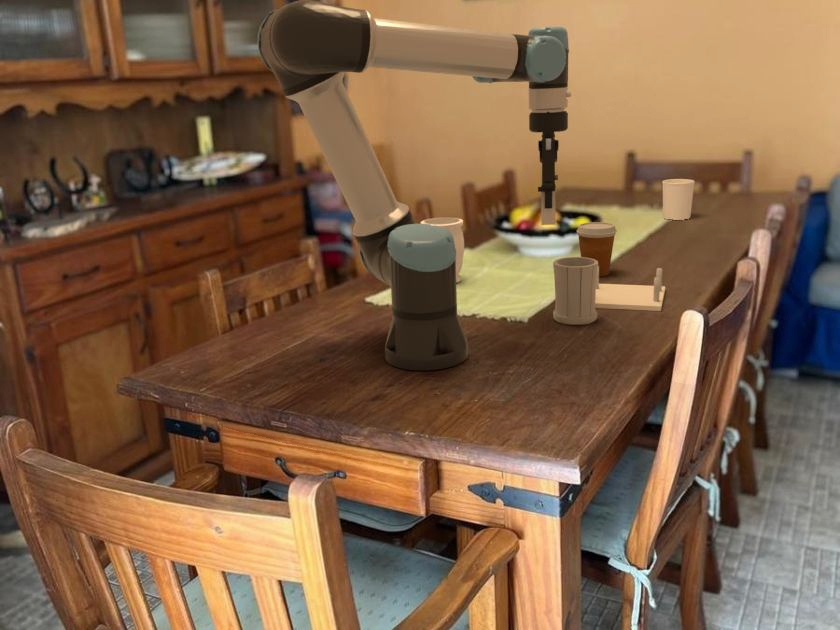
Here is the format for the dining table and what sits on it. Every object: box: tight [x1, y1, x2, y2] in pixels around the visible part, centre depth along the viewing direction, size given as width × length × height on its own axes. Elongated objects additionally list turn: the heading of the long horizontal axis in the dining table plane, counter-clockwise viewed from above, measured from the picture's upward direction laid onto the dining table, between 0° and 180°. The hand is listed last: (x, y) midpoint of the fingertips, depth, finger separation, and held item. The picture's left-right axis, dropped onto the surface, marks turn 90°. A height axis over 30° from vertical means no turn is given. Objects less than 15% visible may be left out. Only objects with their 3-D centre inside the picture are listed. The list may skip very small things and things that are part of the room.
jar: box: [420, 217, 465, 284], centre depth 197 cm, size 11×10×15 cm
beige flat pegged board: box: [595, 266, 666, 312], centre depth 176 cm, size 16×16×6 cm
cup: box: [552, 256, 598, 326], centre depth 164 cm, size 10×9×12 cm
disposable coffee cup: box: [576, 221, 618, 278], centre depth 197 cm, size 10×10×12 cm
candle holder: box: [661, 178, 695, 221], centre depth 260 cm, size 10×10×12 cm
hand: (548, 218), depth 165 cm, fingers open, 13 cm apart
